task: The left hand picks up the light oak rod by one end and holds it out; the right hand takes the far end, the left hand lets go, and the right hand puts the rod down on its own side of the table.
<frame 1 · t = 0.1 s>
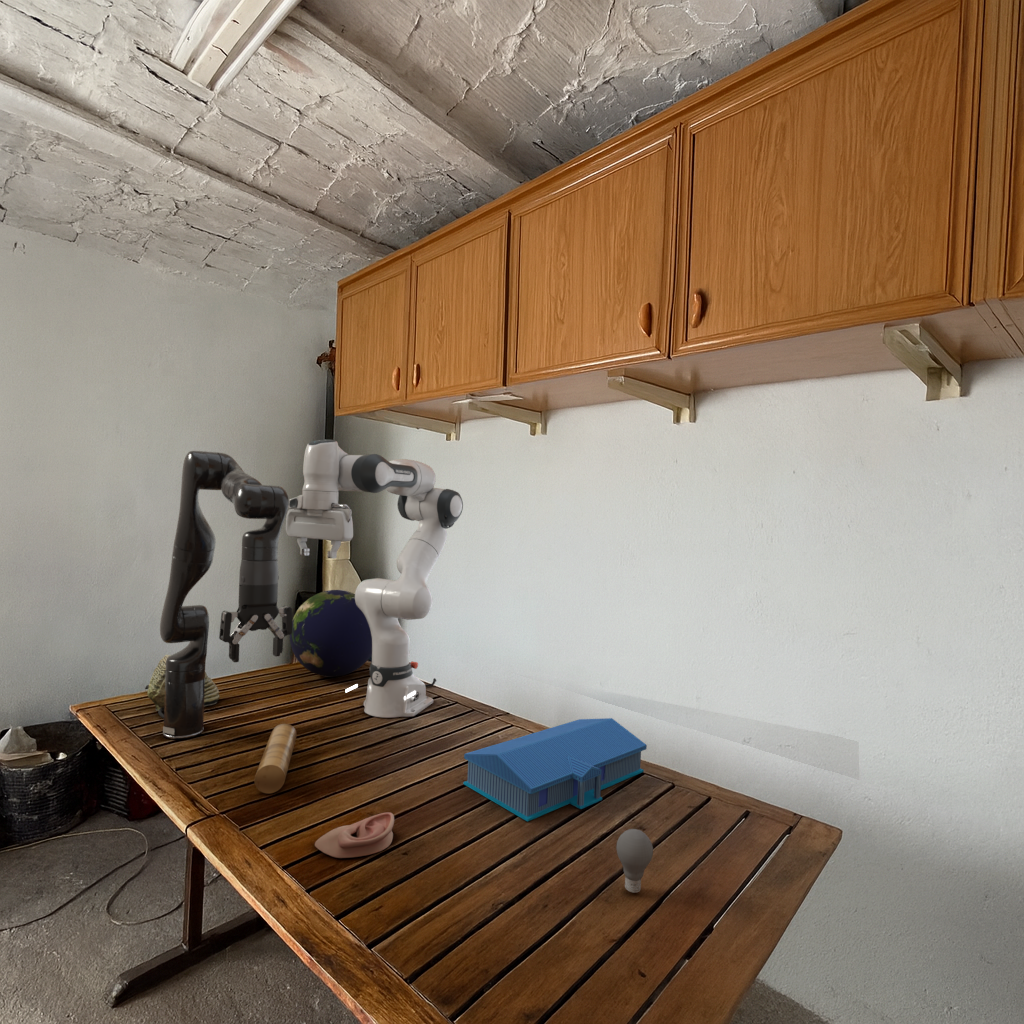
left hand: (256, 658, 132), 29 cm above the table, tool pointing down, fingers open, 8 cm apart
right hand: (318, 556, 162), 48 cm above the table, tool pointing down, fingers open, 8 cm apart
light bulb: (632, 891, 106), on the table
rod: (276, 768, 146), on the table
globe: (333, 675, 222), on the table
fossil: (183, 706, 185), on the table
anatomical model: (354, 843, 117), on the table
model building: (561, 780, 147), on the table
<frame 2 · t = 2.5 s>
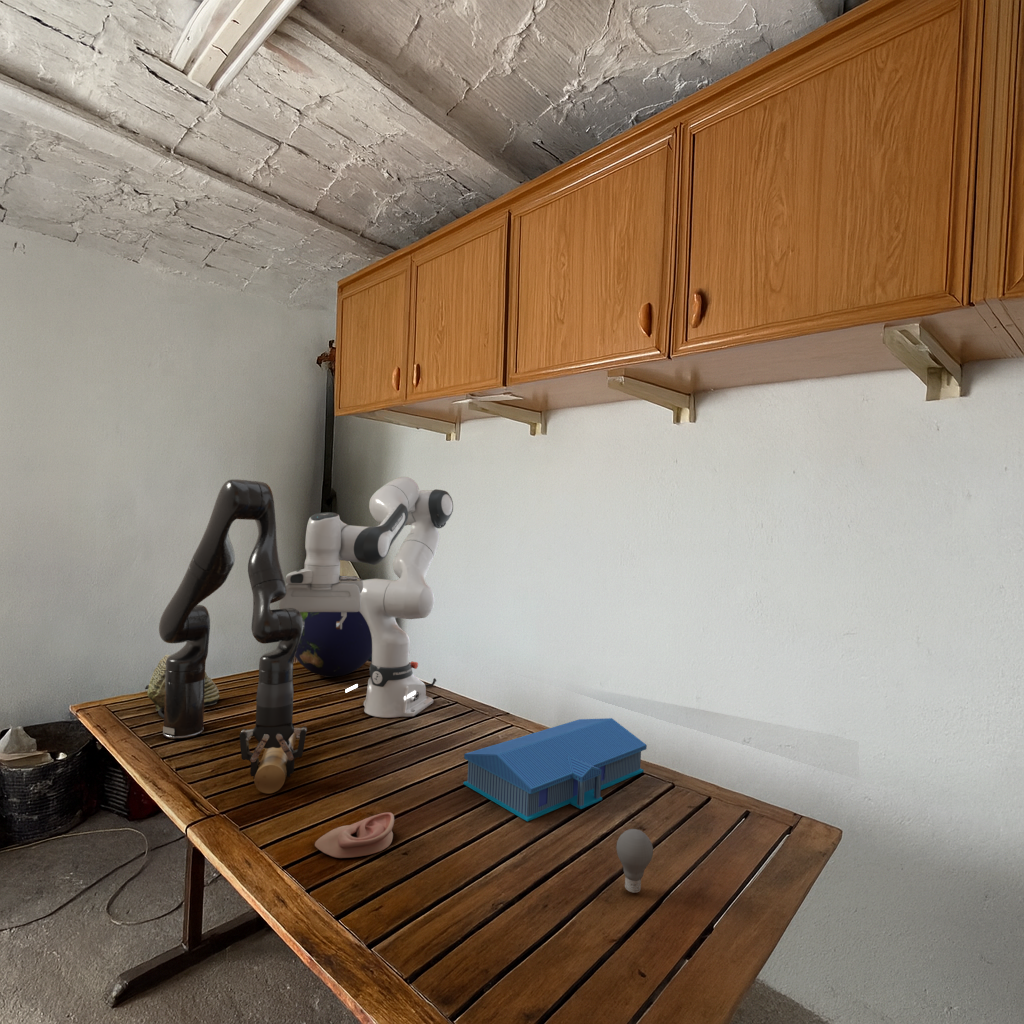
left hand: (272, 776, 138), 2 cm above the table, tool pointing down, fingers closed on rod, 6 cm apart
right hand: (320, 629, 163), 29 cm above the table, tool pointing down, fingers open, 8 cm apart
rod: (276, 768, 146), on the table, touching left hand
everything else where it was.
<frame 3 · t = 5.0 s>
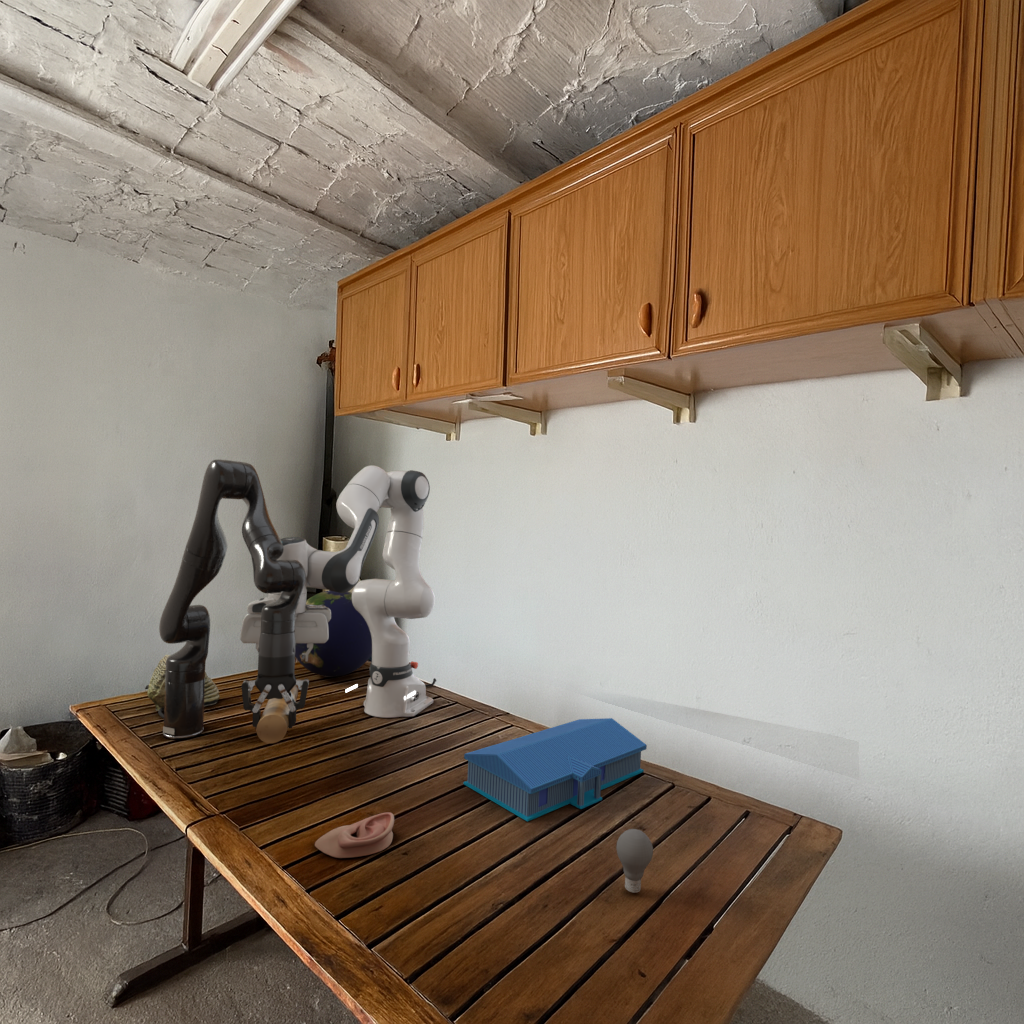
left hand: (274, 727, 138), 13 cm above the table, tool pointing down, fingers closed on rod, 6 cm apart
right hand: (284, 661, 154), 23 cm above the table, tool pointing down, fingers open, 8 cm apart
rod: (278, 722, 146), point 11 cm above the table, touching left hand
everything else where it was.
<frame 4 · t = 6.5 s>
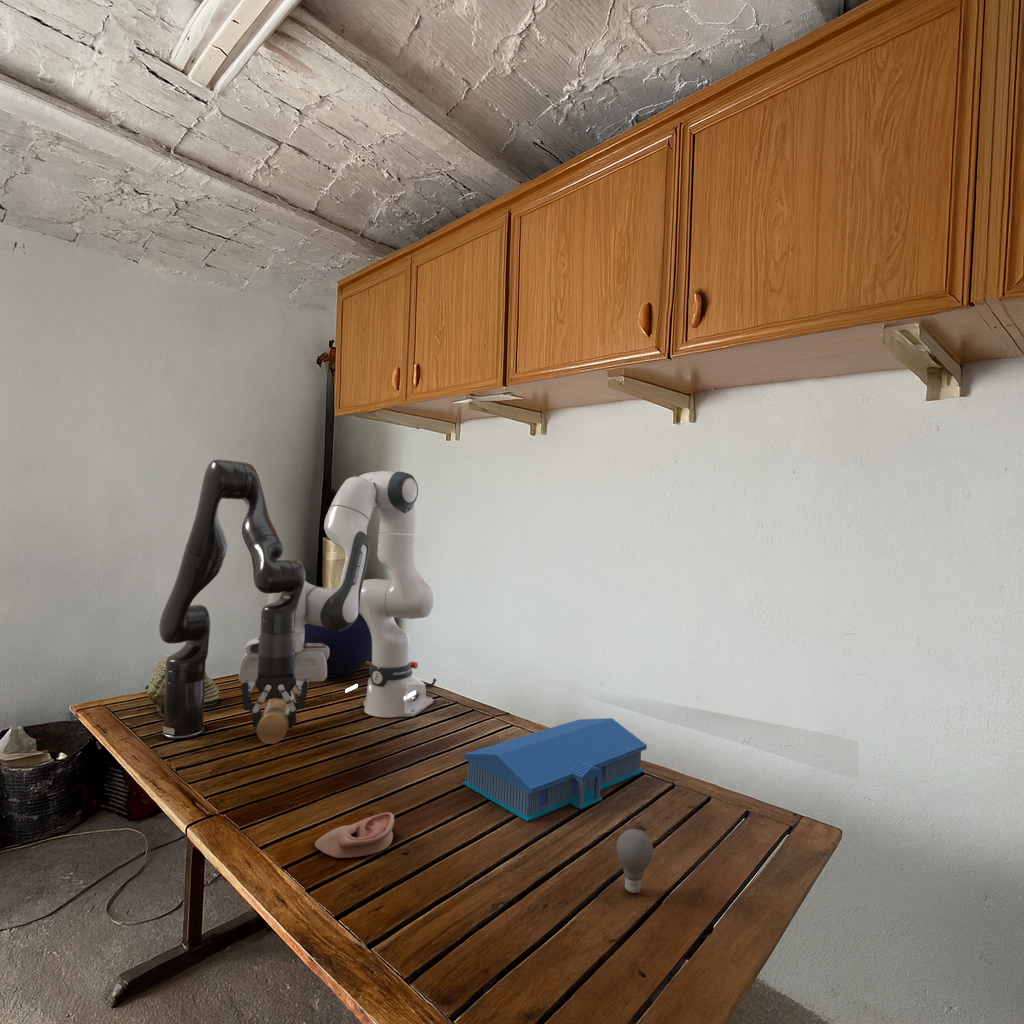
left hand: (274, 727, 138), 12 cm above the table, tool pointing down, fingers closed on rod, 6 cm apart
right hand: (283, 699, 154), 14 cm above the table, tool pointing down, fingers closed on rod, 6 cm apart
rod: (278, 723, 146), point 11 cm above the table, touching left hand, right hand
everything else where it was.
when the left hand's fingers open (13 cm above the table, at t = 7.7 s): rod moves 1 cm, held by the right hand.
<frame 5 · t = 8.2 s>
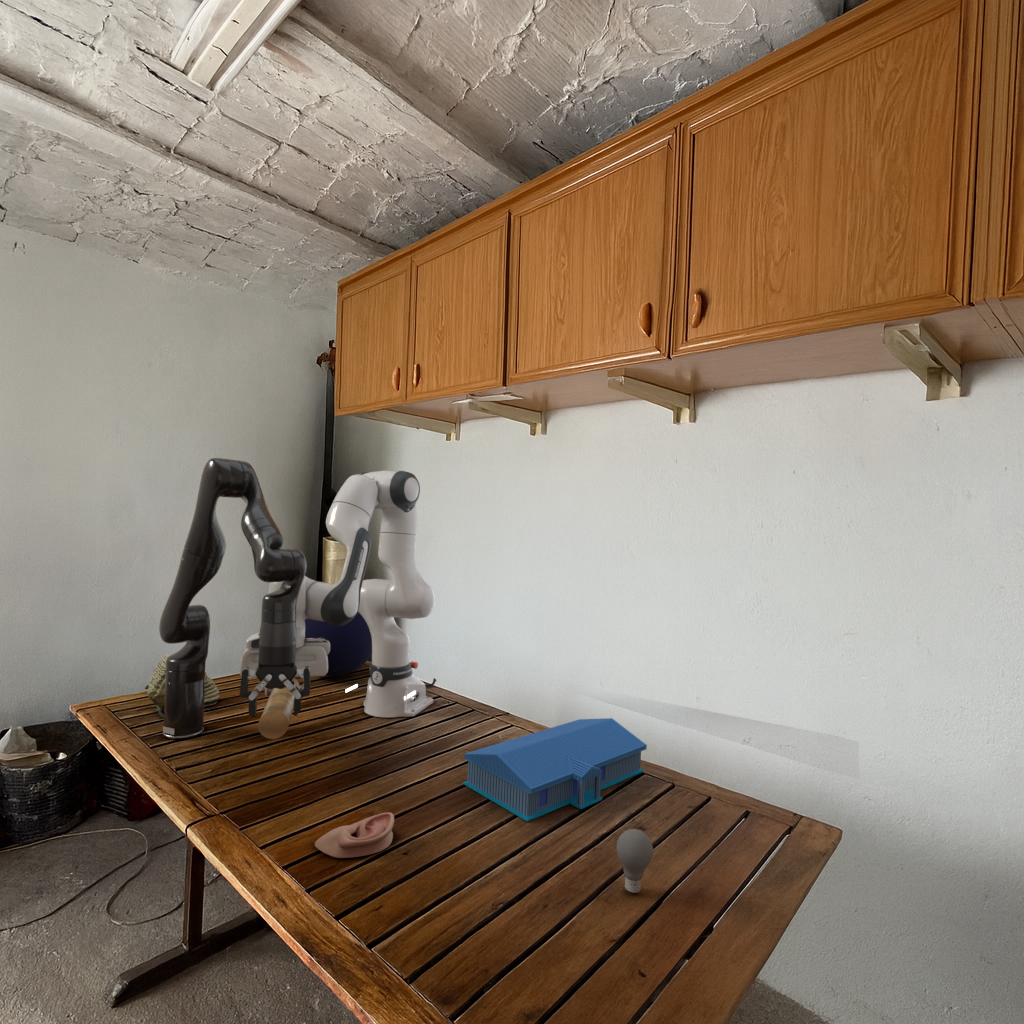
left hand: (274, 715, 137), 16 cm above the table, tool pointing down, fingers open, 8 cm apart
right hand: (284, 694, 154), 15 cm above the table, tool pointing down, fingers closed on rod, 6 cm apart
rod: (280, 717, 146), point 12 cm above the table, touching right hand
everything else where it was.
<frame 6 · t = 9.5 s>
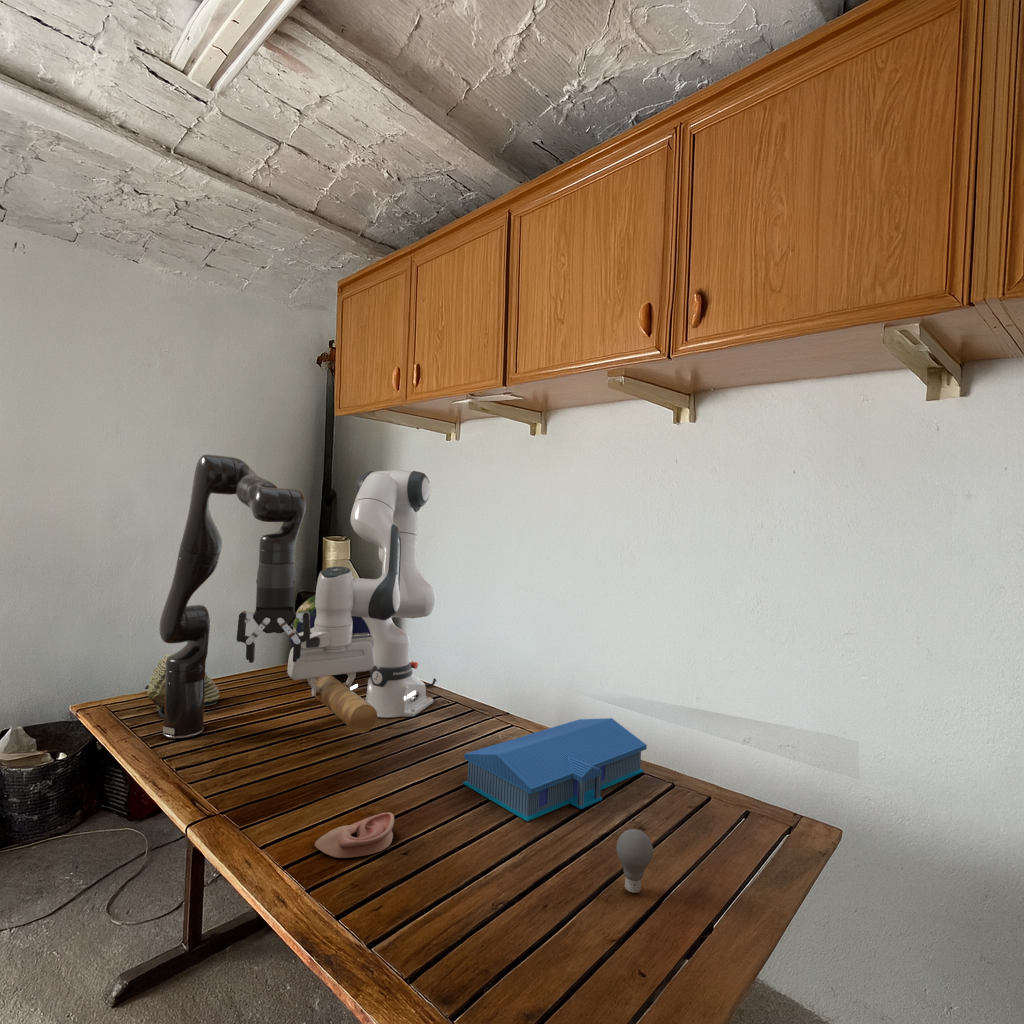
left hand: (273, 661, 132), 29 cm above the table, tool pointing down, fingers open, 8 cm apart
right hand: (331, 693, 152), 16 cm above the table, tool pointing down, fingers closed on rod, 6 cm apart
rod: (342, 715, 145), point 13 cm above the table, touching right hand
everything else where it was.
when the right hand's fingers open (4 cm above the table, at t = 12.8 s): rod drops 4 cm, on the table.
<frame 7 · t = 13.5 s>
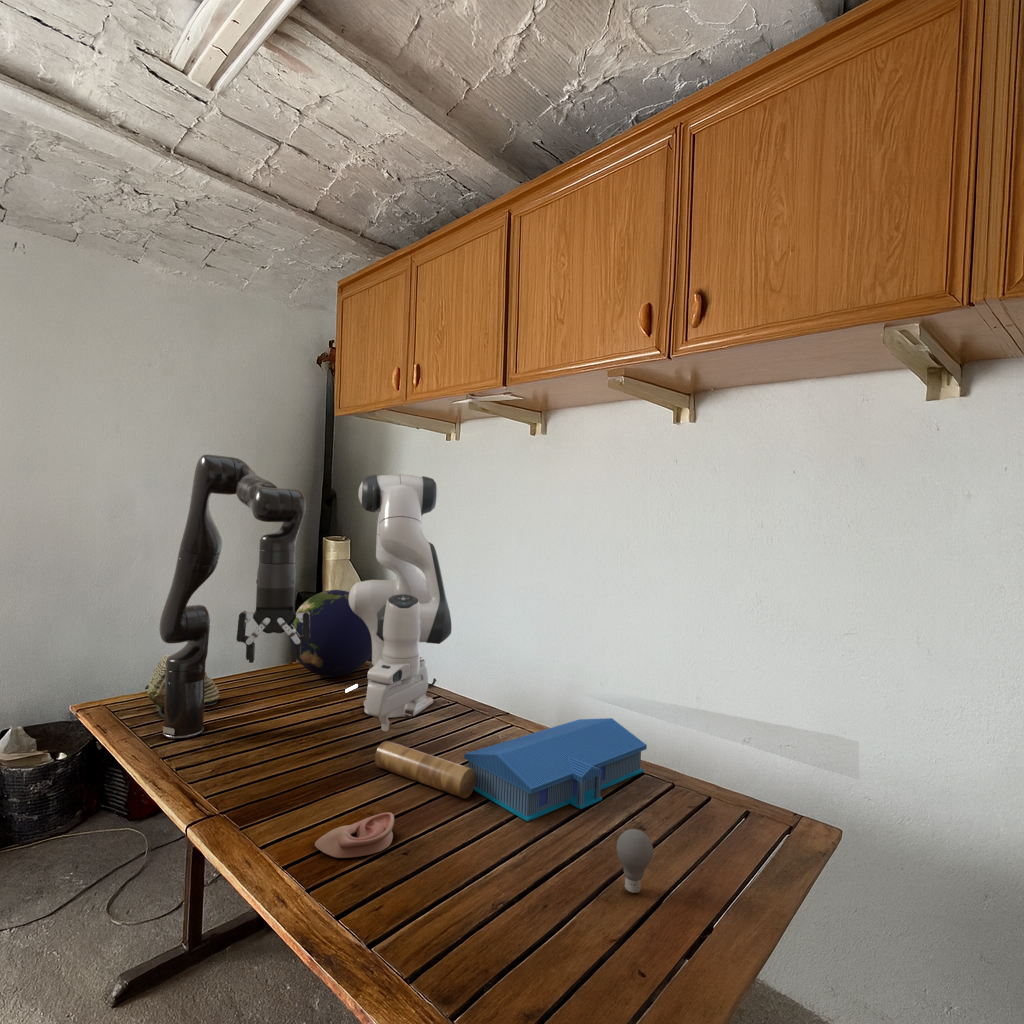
left hand: (273, 661, 132), 29 cm above the table, tool pointing down, fingers open, 8 cm apart
right hand: (398, 723, 149), 11 cm above the table, tool pointing down, fingers open, 8 cm apart
rod: (426, 779, 144), on the table, tilted 20°
everything else where it was.
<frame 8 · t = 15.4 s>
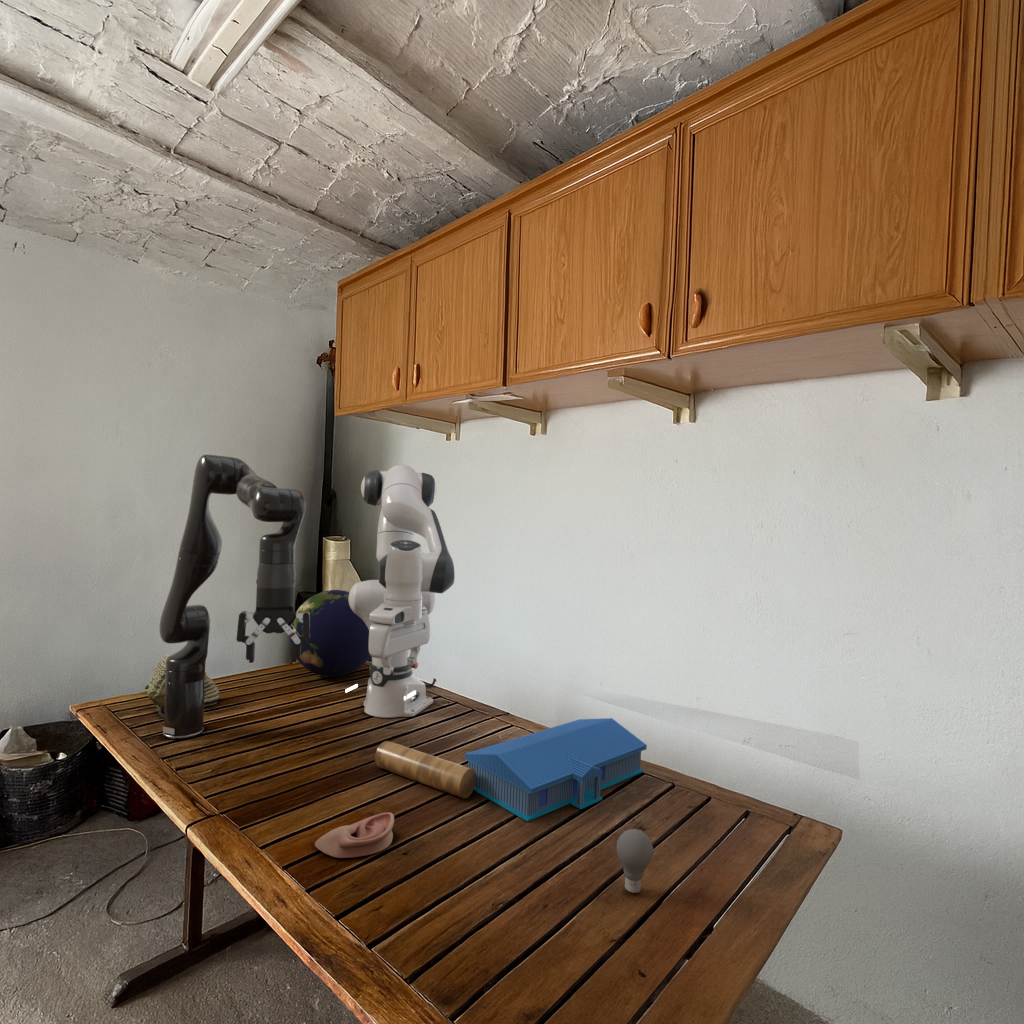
left hand: (273, 661, 132), 29 cm above the table, tool pointing down, fingers open, 8 cm apart
right hand: (400, 669, 148), 24 cm above the table, tool pointing down, fingers open, 8 cm apart
nothing on the table moved.
at the end: rod inside the target area (9.0 cm from its centre), on the table; the left hand is holding nothing; the right hand is holding nothing; rod at rest at the end (0.0 cm/s) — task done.
